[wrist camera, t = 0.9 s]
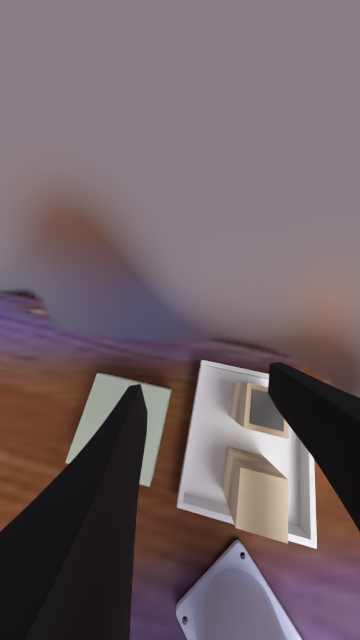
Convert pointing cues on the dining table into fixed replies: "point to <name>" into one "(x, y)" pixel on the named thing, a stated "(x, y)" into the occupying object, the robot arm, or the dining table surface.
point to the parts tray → (221, 431)
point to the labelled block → (257, 410)
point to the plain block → (256, 494)
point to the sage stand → (104, 401)
